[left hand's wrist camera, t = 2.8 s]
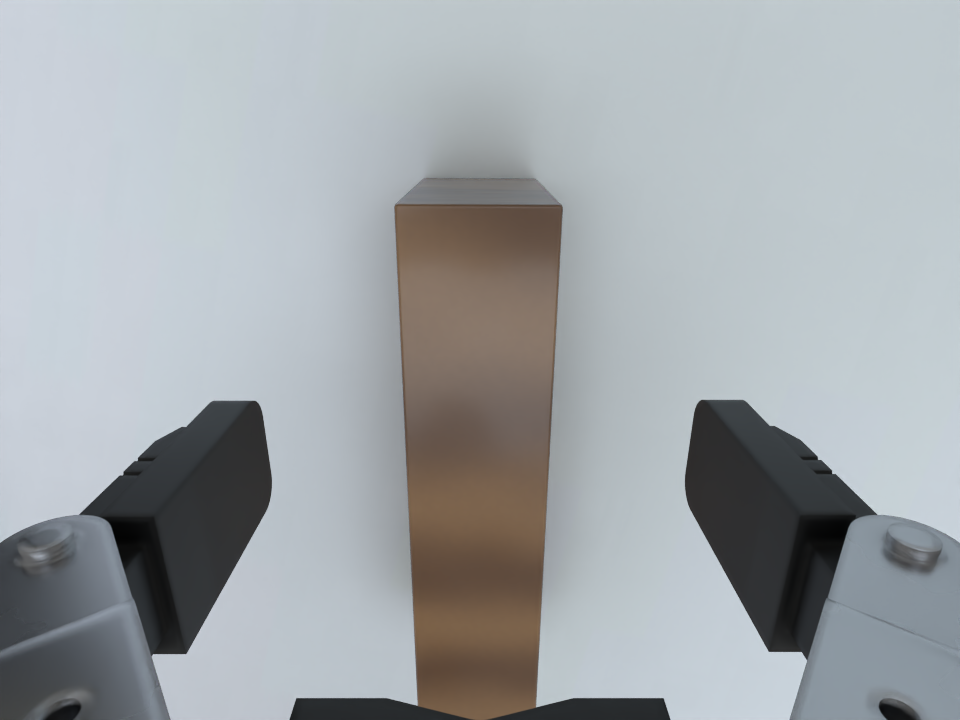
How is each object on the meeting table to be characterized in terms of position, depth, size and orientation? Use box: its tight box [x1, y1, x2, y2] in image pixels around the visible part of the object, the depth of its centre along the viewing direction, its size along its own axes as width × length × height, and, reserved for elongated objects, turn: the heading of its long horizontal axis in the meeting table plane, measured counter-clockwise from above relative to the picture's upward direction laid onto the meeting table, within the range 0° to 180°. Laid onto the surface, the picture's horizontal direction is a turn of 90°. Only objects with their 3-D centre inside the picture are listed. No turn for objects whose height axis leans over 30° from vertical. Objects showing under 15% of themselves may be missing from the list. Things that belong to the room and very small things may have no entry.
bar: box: [394, 178, 563, 720], centre depth 27 cm, size 24×5×9 cm, turn 0°
